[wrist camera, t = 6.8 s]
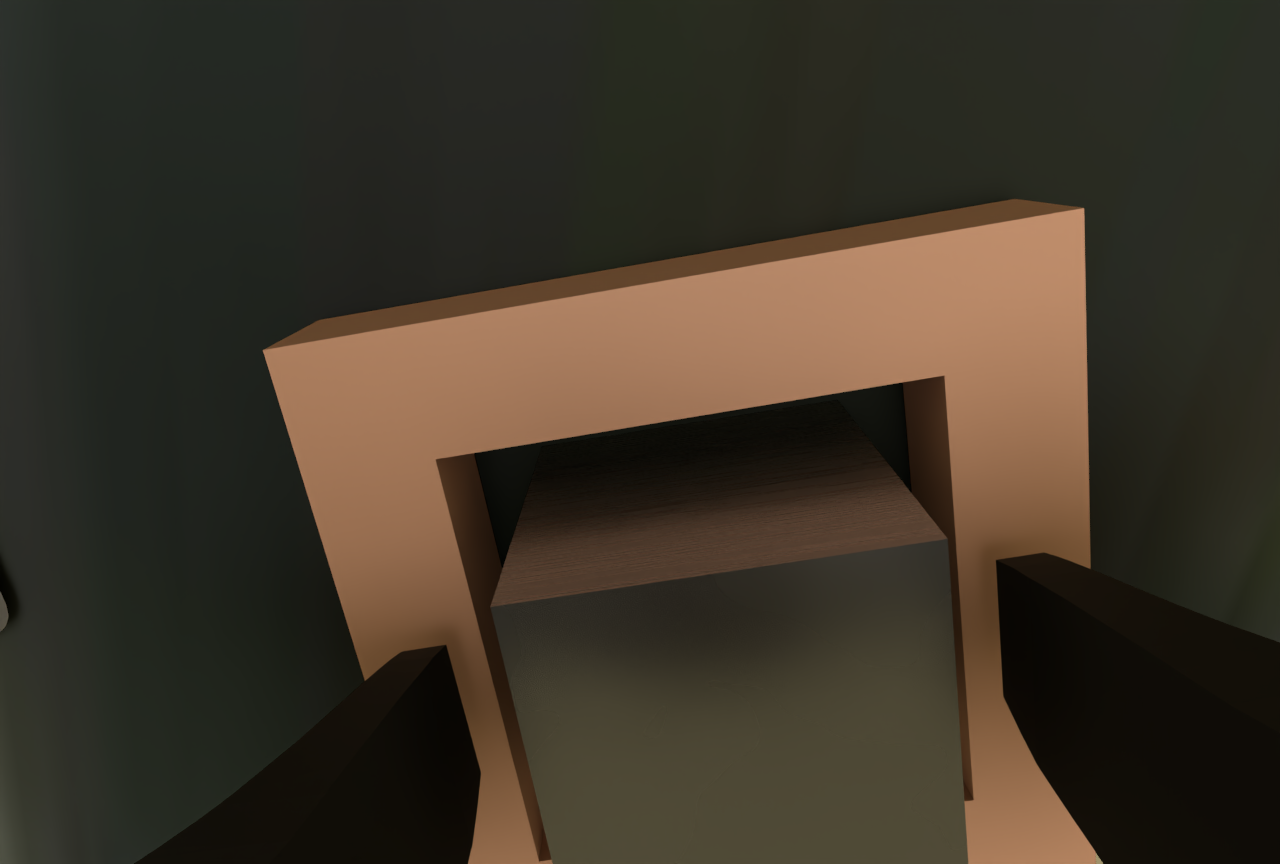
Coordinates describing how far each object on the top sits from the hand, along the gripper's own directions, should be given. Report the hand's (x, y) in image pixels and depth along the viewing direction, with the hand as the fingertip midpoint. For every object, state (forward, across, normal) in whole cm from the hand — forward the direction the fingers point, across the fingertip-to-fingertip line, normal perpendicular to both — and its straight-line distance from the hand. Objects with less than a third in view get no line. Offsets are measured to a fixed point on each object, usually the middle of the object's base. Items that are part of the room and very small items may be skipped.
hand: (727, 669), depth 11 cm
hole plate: (+3, 0, 0) cm, 3 cm away
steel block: (+3, 0, 0) cm, 3 cm away
